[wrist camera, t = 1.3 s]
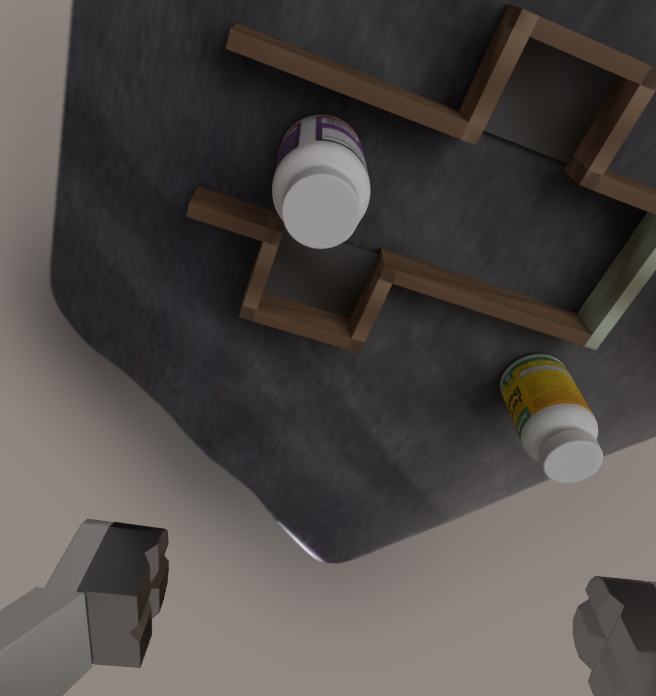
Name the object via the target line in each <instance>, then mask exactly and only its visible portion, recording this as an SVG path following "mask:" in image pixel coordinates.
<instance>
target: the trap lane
mask: <svg viewBox="0 0 656 696" xmlns="http://www.w3.org/2000/svg"><path fill="white" fill-rule="evenodd" d="M226 49H228V50H231V51H233V52H236V53H238V54H241V55H244V56H246V57H249V58H251V59H254V60H257V61H259V62H262V63H264V64H267V65H269V66H272V67H275V68H277V69H280V70H282V71H285V72H288V73H290V74H293V75H295V76H298V77H301V78H303V79H306V80H308V81H311V82H313V83H316V84H319V85H321V86H324V87H326V88H329V89H332V90H334V91H337V92H339V93H342V94H345V95H347V96H350V97H352V98H355V99H357V100H360V101H363V102H365V103H368V104H370V105H373V106H376V107H378V108H381V109H383V110H386V111H389V112H391V113H394V114H396V115H399V116H401V117H404V118H407V119H409V120H412V121H414V122H417V123H420V124H422V125H425V126H427V127H430V128H433V129H435V130H438V131H440V132H443V133H445V134H448V135H451V136H453V137H456V138H458V139H461V140H464V141H466V142H469V143H471V144H474V145H477V143H478V141H479V139H480V137H481V135H482V133H483V131H486V132H488V133H491V134H493V135H496V136H499V137H501V138H504V139H506V140H509V141H511V142H514V143H516V144H519V145H521V146H524V147H527V148H529V149H532V150H534V151H537V152H539V153H542V154H544V155H547V156H549V157H552V158H555V159H557V160H560V161H562V162H565V163H566V165H565V166H564V168H563V171H564V172H565V173H566V174H568V175H569V176H570V177H571V178H572V179H573V180H574V181H575V182H576V183H577V184H578V185H580V186H583V187H585V188H588V189H590V190H593V191H596V192H598V193H601V194H603V195H606V196H608V197H611V198H614V199H616V200H619V201H621V202H624V203H627V204H629V205H632V206H634V207H637V208H640V209H642V210H645V211H647V214H646V215H645V216H644V218H643V219H642V221H641V222H640V224H639V225H638V226H637V228H636V229H635V231H634V232H633V234H632V235H631V237H630V238H629V239H628V241H627V242H626V244H625V245H624V247H623V248H622V250H621V251H620V252H619V254H618V255H617V257H616V258H615V260H614V261H613V263H612V264H611V265H610V267H609V268H608V270H607V271H606V273H605V274H604V276H603V277H602V278H601V280H600V281H599V283H598V284H597V286H596V287H595V289H594V290H593V291H592V293H591V294H590V296H589V297H588V299H587V300H586V302H585V303H584V304H583V306H582V307H581V309H580V310H579V312H578V313H574V312H571V311H568V310H565V309H562V308H559V307H557V306H554V305H551V304H548V303H545V302H542V301H539V300H536V299H533V298H530V297H527V296H524V295H521V294H518V293H515V292H512V291H509V290H506V289H503V288H500V287H497V286H494V285H491V284H488V283H485V282H482V281H479V280H476V279H473V278H470V277H467V276H464V275H461V274H459V273H456V272H453V271H450V270H447V269H444V268H441V267H438V266H435V265H432V264H429V263H426V262H423V261H420V260H417V259H414V258H411V257H408V256H405V255H402V254H399V253H396V252H393V251H390V250H387V249H384V248H380V251H379V253H375V252H372V251H369V250H366V249H363V248H360V247H357V246H354V245H351V244H348V243H345V242H343V243H341V244H339V245H337V246H334V247H331V248H325V249H316V248H311V247H307V246H305V245H303V244H301V243H299V242H298V241H296V240H295V239H294V238H293V237H292V236H291V235H290V234H289V232H288V231H287V229H286V227H285V225H284V222H283V221H282V219H281V218H280V216H279V215H278V213H277V212H274V211H271V210H269V209H266V208H263V207H260V206H257V205H254V204H251V203H248V202H245V201H242V200H239V199H236V198H233V197H230V196H227V195H224V194H221V193H218V192H215V191H212V190H209V189H206V188H203V187H200V186H198V187H197V189H196V191H195V193H194V195H193V197H192V198H191V200H190V202H189V207H188V211H187V215H186V217H189V218H192V219H195V220H198V221H201V222H204V223H207V224H210V225H213V226H216V227H220V228H223V229H226V230H229V231H232V232H235V233H238V234H241V235H244V236H247V237H250V238H253V239H256V240H259V241H261V244H260V247H259V251H258V254H257V257H256V260H255V263H254V266H253V269H252V272H251V276H250V279H249V282H248V285H247V288H246V291H245V294H244V298H243V302H242V307H241V311H240V315H239V318H243V319H246V320H250V321H253V322H256V323H260V324H263V325H266V326H270V327H273V328H276V329H280V330H283V331H287V332H290V333H293V334H297V335H300V336H303V337H307V338H310V339H314V340H317V341H320V342H324V343H327V344H330V345H334V346H337V347H340V348H344V349H347V350H351V351H354V352H357V353H360V351H361V349H362V347H363V345H364V343H365V341H366V339H367V337H368V335H369V332H370V330H371V328H372V326H373V324H374V322H375V320H376V318H377V315H378V313H379V311H380V309H381V307H382V305H383V303H384V301H385V299H386V296H387V294H388V292H389V290H390V288H391V286H392V284H395V285H398V286H401V287H404V288H407V289H410V290H413V291H416V292H419V293H422V294H426V295H429V296H432V297H435V298H438V299H441V300H444V301H447V302H450V303H453V304H456V305H459V306H462V307H466V308H469V309H472V310H475V311H478V312H481V313H484V314H487V315H490V316H493V317H496V318H499V319H502V320H506V321H509V322H512V323H515V324H518V325H521V326H524V327H527V328H530V329H533V330H536V331H539V332H542V333H546V334H549V335H552V336H555V337H558V338H561V339H564V340H567V341H570V342H573V343H576V344H579V345H582V346H585V347H589V348H592V349H595V350H596V349H597V348H598V347H599V345H600V344H601V343H602V341H603V340H604V339H605V337H606V336H607V335H608V333H609V332H610V331H611V329H612V328H613V327H614V325H615V324H616V323H617V321H618V320H619V318H620V317H621V316H622V314H623V313H624V312H625V310H626V309H627V308H628V306H629V305H630V304H631V302H632V301H633V300H634V298H635V297H636V296H637V294H638V293H639V292H640V290H641V289H642V288H643V286H644V285H645V284H646V282H647V281H648V280H649V278H650V277H651V275H652V274H653V273H654V271H655V270H656V189H655V188H653V187H650V186H648V185H645V184H643V183H640V182H638V181H635V180H632V179H630V178H627V177H625V176H622V175H620V174H617V173H615V172H612V171H610V170H607V168H608V166H609V165H610V163H611V161H612V160H613V158H614V157H615V155H616V153H617V152H618V150H619V149H620V147H621V145H622V144H623V142H624V141H625V139H626V137H627V136H628V134H629V133H630V131H631V129H632V128H633V126H634V125H635V123H636V121H637V120H638V118H639V117H640V115H641V113H642V112H643V110H644V109H645V107H646V105H647V104H648V102H649V101H650V99H651V97H652V96H653V94H654V93H655V91H656V68H655V67H653V66H651V65H648V64H646V63H644V62H642V61H639V60H637V59H635V58H633V57H630V56H628V55H626V54H624V53H621V52H619V51H617V50H615V49H612V48H610V47H608V46H606V45H603V44H601V43H599V42H597V41H594V40H592V39H590V38H588V37H585V36H583V35H581V34H579V33H576V32H574V31H572V30H570V29H567V28H565V27H563V26H561V25H558V24H556V23H554V22H552V21H549V20H547V19H545V18H543V17H540V16H538V15H536V14H534V13H531V12H529V11H527V10H525V9H522V8H519V7H515V6H512V5H509V4H508V5H507V7H506V9H505V11H504V14H503V16H502V18H501V20H500V22H499V24H498V27H497V29H496V31H495V33H494V35H493V38H492V40H491V42H490V44H489V46H488V48H487V51H486V53H485V55H484V57H483V59H482V61H481V64H480V66H479V68H478V70H477V72H476V75H475V77H474V79H473V81H472V83H471V85H470V88H469V90H468V92H467V94H466V96H465V98H464V101H463V103H462V105H461V107H460V109H459V110H456V109H453V108H451V107H448V106H446V105H443V104H441V103H438V102H436V101H433V100H431V99H428V98H426V97H423V96H421V95H418V94H416V93H413V92H411V91H408V90H406V89H403V88H401V87H398V86H396V85H393V84H390V83H388V82H385V81H383V80H380V79H378V78H375V77H373V76H370V75H368V74H365V73H363V72H360V71H358V70H355V69H353V68H350V67H348V66H345V65H343V64H340V63H338V62H335V61H332V60H330V59H327V58H325V57H322V56H320V55H317V54H315V53H312V52H310V51H307V50H305V49H302V48H300V47H297V46H295V45H292V44H290V43H287V42H285V41H282V40H280V39H277V38H275V37H272V36H269V35H267V34H264V33H262V32H259V31H257V30H254V29H252V28H249V27H247V26H244V25H242V24H239V23H237V24H235V25H234V26H233V27H232V28H231V29H230V33H229V37H228V41H227V45H226Z"/></svg>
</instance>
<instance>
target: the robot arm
mask: <svg viewBox="0 0 656 696" xmlns="http://www.w3.org/2000/svg"><path fill="white" fill-rule="evenodd" d="M167 546H168V531H167V530H166V529H163V528H156V527H148V526H141V525H133V524H126V523H119V522H107V521H100V520H93V519H87V520H86V521H84V522H83V523H82V524H81V525H80V527H79V529H78V530H77V532H76V534H75V536H74V537H73V539H72V541H71V543H70V544H69V546H68V548H67V549H66V551H65V553H64V555H63V557H62V558H61V560H60V562H59V563H58V565H57V567H56V569H55V570H54V572H53V574H52V576H51V577H50V579H49V581H48V583H47V584H46V586H45V588H37V587H36V588H34V589H33V590H31V591H30V592H28V593H27V594H25V595H24V596H22V597H21V598H19V599H17V600H16V601H14V602H13V603H11V604H10V605H8V606H7V607H5V608H4V609H2V610H1V611H0V696H63V695H64V694H65V693H66V692H67V691H68V690H69V689H70V688H71V687H72V686H73V685H74V684H75V683H76V682H77V681H78V680H79V679H80V678H81V677H82V676H83V675H84V674H85V673H86V672H88V670H89V669H91V668H92V664H97V665H110V666H123V667H137V668H141V665H142V662H143V659H144V656H145V653H146V650H147V647H148V645H149V642H150V639H151V636H152V618H154V617H155V616H156V615H157V614H158V613H159V612H160V609H161V606H162V603H163V600H164V596H165V592H166V587H167V582H168V572H169V561H168V560H167V558H166V557H165V556H164V555H165V552H166V549H167ZM586 592H587V595H588V597H589V599H588V600H587V601H585V602H584V603H582V604H580V605H579V606H578V608H577V610H576V613H575V615H574V618H573V638H574V643H575V647H576V650H577V653H578V655H579V658H580V659H581V660H582V661H583V662H584V663H585V664H586V665H587V666H588V667H589V668H590V669H591V670H592V672H591V674H590V677H589V680H588V682H589V685H590V687H591V690H592V693H593V695H594V696H656V582H649V581H648V582H645V581H640V580H630V579H619V578H610V577H600V576H595V577H594V578H592V579H591V580H590V581H589V583H588V585H587V587H586Z"/></svg>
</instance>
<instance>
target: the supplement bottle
mask: <svg viewBox="0 0 656 696" xmlns="http://www.w3.org/2000/svg"><path fill="white" fill-rule="evenodd" d="M500 387H501V392H502V395H503V398H504V400H505V403H506V405H507V408H508V410H509V413H510V415H511V418H512V420H513V423H514V425H515V428H516V430H517V433H518V435H519V438H520V440H521V443H522V445H523V447H524V449H525V451H526V452H527V453H528V454H529V455H530V456H531V457H532V458H534V459H535V460H537V461H539V462H540V464H541V467H542V469H543V471H544V473H545V474H546V475H547V476H548V477H549V478H550V479H551V480H553V481H556V482H561V483H573V482H578V481H581V480H583V479H585V478H588V477H589V476H591V475H593V474H594V473H595V472H596V471H597V470H598V469H599V467H600V465H601V464H602V461H603V453H602V450H601V448H600V446H599V444H598V442H597V440H596V439H597V436H598V425H597V421H596V419H595V417H594V415H593V414H592V412H591V410H590V409H589V407H588V405H587V403H586V402H585V400H584V398H583V397H582V395H581V393H580V392H579V390H578V388H577V386H576V385H575V383H574V381H573V379H572V378H571V376H570V374H569V373H568V371H567V369H566V368H565V366H564V365H563V364H562V363H561V362H560V361H559V360H558V359H556V358H554V357H552V356H550V355H546V354H532V355H528V356H525V357H522V358H520V359H518V360H516V361H515V362H513V363H512V364H511V365H510V366H509V367H508V368H507V369H506V371H505V372H504V374H503V375H502V378H501V383H500Z"/></svg>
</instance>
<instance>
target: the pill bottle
mask: <svg viewBox="0 0 656 696" xmlns="http://www.w3.org/2000/svg"><path fill="white" fill-rule="evenodd" d="M272 196H273V202H274V206H275V208H276V211H277V213H278V215H279V216H280V218H281V219H282V221H283V222H284V225H285V227H286V229H287V231H288V232H289V234H290V235H291V236H292V237H293V238H294V239H295V240H296V241H298V242H299V243H301V244H303V245H305V246H307V247H311V248H316V249H325V248H331V247H334V246H337V245H339V244H341V243H343V242H344V241H346V240H347V239H348V238H349V237H350V236H351V235H352V233H353V232H354V230H355V229H356V227H357V225H358V223H359V221H360V220H361V219H362V217H363V216H364V214H365V212H366V210H367V207H368V204H369V200H370V181H369V176H368V172H367V167H366V162H365V158H364V153H363V149H362V145H361V143H360V140H359V138H358V136H357V134H356V133H355V132H354V130H353V129H352V128H351V127H350V126H349V125H348V124H347V123H345V122H344V121H343V120H341V119H339V118H337V117H334V116H330V115H322V114H320V115H312V116H308V117H306V118H303V119H301V120H300V121H298V122H297V123H295V124H294V125H293V126H292V127H291V128H290V129H289V130H288V131H287V133H286V134H285V136H284V138H283V140H282V142H281V145H280V148H279V153H278V158H277V163H276V168H275V173H274V177H273V185H272Z"/></svg>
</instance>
